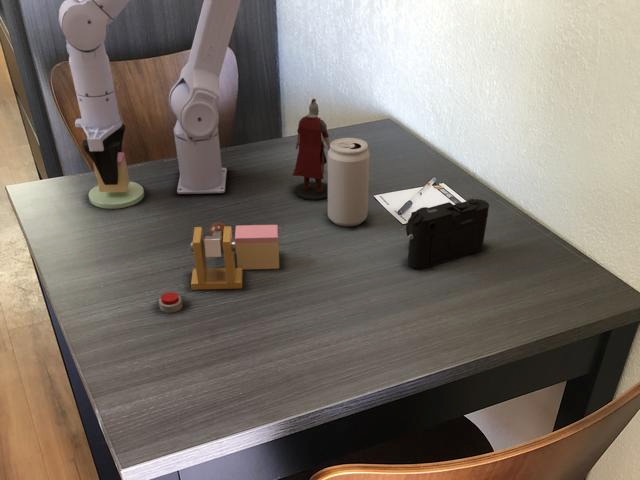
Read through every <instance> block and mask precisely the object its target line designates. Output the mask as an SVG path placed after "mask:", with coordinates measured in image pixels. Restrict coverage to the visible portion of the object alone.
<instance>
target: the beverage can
mask: <svg viewBox="0 0 640 480" xmlns="http://www.w3.org/2000/svg"><path fill="white" fill-rule="evenodd" d="M329 144H330V149H329V151H328V150H327V185H328V198H327V217H328V219H329V220H330V221H332V222H333V223H334V224H336V225H338V226H342V227H355V226H358V225H360V224H362V223H363V222H364V221H365V220H366V219H367V217H368V215H369V214H368V211H369V187H370V186H369V185H370V183H369V182H370V159H371V158H370V157H371V156H370V155H371V153H370V150H369V149H368V146H369V145H368V143H367V141H365V140H363V139H361V138H356V137H341V138H337V139H334V140H332V141H331V142H330V143H329Z"/></svg>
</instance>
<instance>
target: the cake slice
mask: <svg viewBox="0 0 640 480" xmlns="http://www.w3.org/2000/svg"><path fill="white" fill-rule="evenodd" d="M125 155H126V154H125V152H124V151H122V152H118V160H117V163H118V184H117V185H105V184H104V183H103V181H102V179H101V176H100V174H99V172H98V170H97V168H96V166H95V164H94V162H93V161H92V163H93V164H92V165H93V168H94V174H95V177H96V182H97V185H98V187H99V192H127V189H128V185H129V182H130V176H129V171H128V165H127V160H126V156H125Z"/></svg>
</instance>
